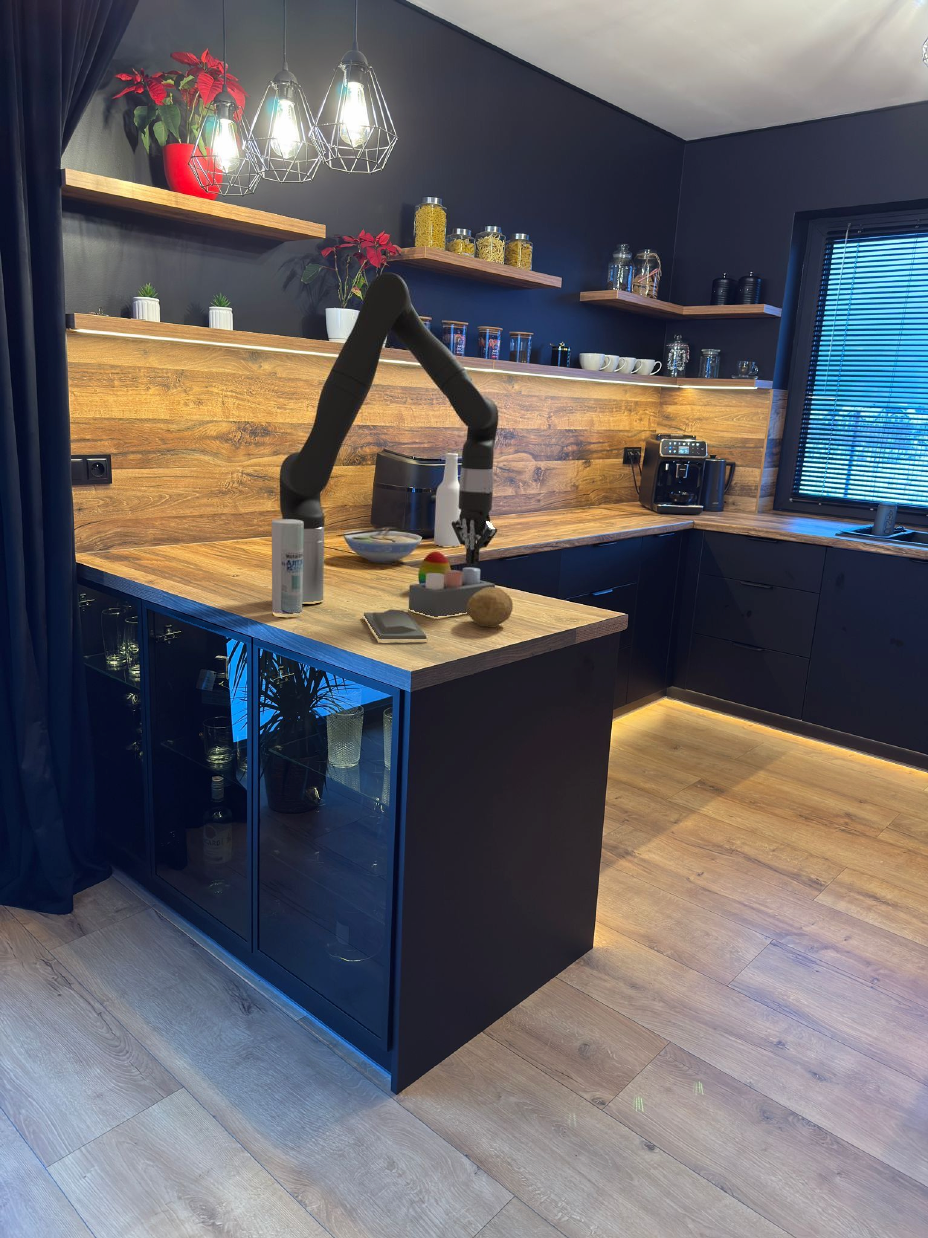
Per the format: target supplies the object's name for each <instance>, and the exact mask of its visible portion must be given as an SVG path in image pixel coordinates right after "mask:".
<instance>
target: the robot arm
mask: <svg viewBox="0 0 928 1238" xmlns="http://www.w3.org/2000/svg"><path fill="white" fill-rule="evenodd" d="M352 327H353V328H352V329H351V331H350V332H349V335H348V337H347V339H346V340H345V342H344V344H343V346H342V348H341V349H340V352H339V354H338V356H337V357H336V359H335V362H334V363H333V365H332V367H331V369H330V371H329V374H328V376H327V377H326V380H325V382H324V384H323V386H322V389H321V390H320V394H319V399H318V403H317V407H316V411H315V417H314V422H313V425H312V428H311V431H310V433H309V435H308V437H307V439H306V440H305V443H304V444H303V446H302V447H301V449H300V451H297V452H292V453H290V454H289V455H287V456H286V457H285V459H284V460H283V461H282V463H281V466H280V469H279V506H280V507H279V508H280V513H281V514H280V515H281V519H294V520H301V521H303V523H304V528H303V585H302V602H314V601H321V600H323V601H324V581H325V580H324V579H325V578H324V572H325V571H324V569H325V568H324V566H325V562H324V561H325V514H324V511H323V508H322V503H321V500H322V499H321V493H322V491H324V490H325V488H327V485H328V483H329V481H330V478H331V475H332V472H333V470H334V466H335V464H336V461H337V458H338V456H339V453H340V450H341V448H342V446H343V443H344V441H345V439H346V437H347V435H348V434H349V432H350V430H351V428H352V426H353V423H354V422H355V420H356V418H357V416H358V414H359V412H360V410H361V408H362V406H363V404H364V402H365V400H366V398H367V396H368V394H369V392H370V390H371V387H372V386H373V382H374V379H375V376H376V373H377V369H378V365H379V361H380V357H381V353H382V349H383V346H384V344H385V341H386V339H387V336H388V335H389V333H390V332H391V334H392V335H394V336H395V337H396V338H397V339H398V340H399V341H400V342H401V343H402V344H403V345H404V346H405V347H406V348H407V350H408V351H409V352H410V353H411V354H412V356H413V357H414V358H415V359H416V361H417V362H418V363H419V365H420V366H421V367H422V369H423V371H424V372H426V374H427V375H428V377H429V378H430V379H431V380H432V382H433V383H434V384H435V386H436V387H437V388H438V389H439V390H440V391H441V393H442V394H443V395H444V396H445V398H447V400H448V402H449V403H450V405H451V407H452V409H453V411H454V412H455V413H456V415H457V416H458V417H459V419H460V420H461V421H462V423H463V424H464V425H465V426H466V427H467V430H466V440H465V441H464V443H463V446H462V450H461V451H462V453H461V469H460V475H459V505H458V507H459V509H460V510H461V512H460V515H459V519H458V520H457V521H453V522H452V527H453V529H454V531H455V534H456V536H457V538H458V540H459V543H460V546H461V545H462V546H464V548H465V561H466V566H471V567H474V566H475V567H476V566H477V565H478V564H479V562H480V550H481V549H486V548H487V547H488V546H489V544H490V542H491V541H492V540H493V539H494V537H495V536H496V534H497V533H498V528H497V527H493V525H492V523H491V518H490V511H492V509H493V495H494V493H493V492H494V470H493V469H494V457H495V456H494V454H495V453H494V448H495V441H496V437H497V431H498V426H499V409H498V406H497V404H496V403H495V401H494V400H493V399H491V398H489V397H485V396H483V394H482V393H481V392H480V390H478V388H477V387H476V386H475V384H474V383H473V382H472V377H471V375H470V374H469V373H468V371H467V370H466V369H465V367H464V365H463V364H462V363H461V362H460V360H459V359H458V358H457V357H456V356H455V355H454V354H453V352H451V350H450V349H449V348H448V347H447V346H446V345H445V344H443V342H442V341H440V340H439V339H438V338H437V337H436V336H435V335H434V334H433V333H432V332H431V330H429V328H428V327H427V326H426V324H425V323H424V322H423V321H422V319H421V318H420V316H419V314H418V313H417V311H416V309H415V308H414V306H413V304H412V300H411V295H410V291H409V288H408V285H407V283H406V282H405V280H404V279H403V278H402V277H401V276H400V275H398V274H396V273H393V272H383V273H380V274H379V275H377V276H376V277H374V278H373V279H372V281H370V283H369V285H368V286H367V289H366V291H365V294H364V296H363V300H362V303H361V306H360V308H359V312H358V315H357V317H356V321H355V323H354V324H353V326H352Z"/></svg>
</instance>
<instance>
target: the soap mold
mask: <svg viewBox="0 0 928 1238" xmlns="http://www.w3.org/2000/svg"><path fill="white" fill-rule="evenodd" d="M363 616H365V618H366V619H367V621H368V623H369V624H370V626H371V627H372V629H373V630H374V632H375V633H376V635H377V636H378V638H379V639H427V640H428V638H427V635H426V633H425V632H424V631H423V629H422V628H421V627H420V626H419V624H418V623H417V621H415V619H414V618H413V616H412V614H411V613H410V612H409V611H405V610H402V609H391V608H390V609H388V610H386V611H383V612H381V611H380V612H378V611H377V612H376V611H374V612H363Z"/></svg>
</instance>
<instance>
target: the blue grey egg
mask: <svg viewBox="0 0 928 1238" xmlns="http://www.w3.org/2000/svg"><path fill="white" fill-rule="evenodd" d="M462 572H463V575H462V583H465V584H469V585H473V584H479V583H480V580H481V569H480V568H478V567H463V568H462Z"/></svg>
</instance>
